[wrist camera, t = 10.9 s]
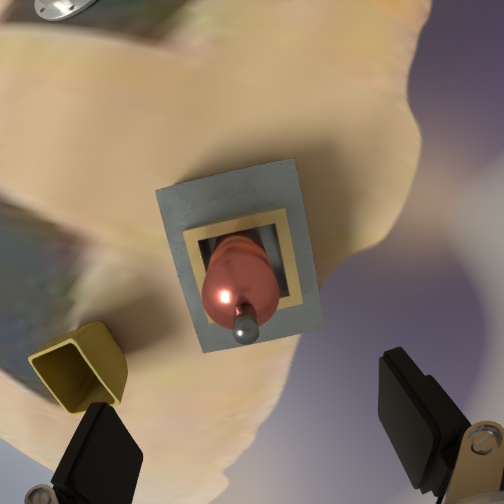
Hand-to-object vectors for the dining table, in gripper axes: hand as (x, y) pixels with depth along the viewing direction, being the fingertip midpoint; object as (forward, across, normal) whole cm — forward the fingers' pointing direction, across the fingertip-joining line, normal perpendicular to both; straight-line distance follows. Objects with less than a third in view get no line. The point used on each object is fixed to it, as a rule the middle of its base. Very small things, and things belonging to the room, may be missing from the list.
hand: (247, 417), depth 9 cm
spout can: (+22, 0, 0) cm, 23 cm away
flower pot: (+25, +21, +8) cm, 33 cm away
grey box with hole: (+24, 0, 0) cm, 25 cm away
